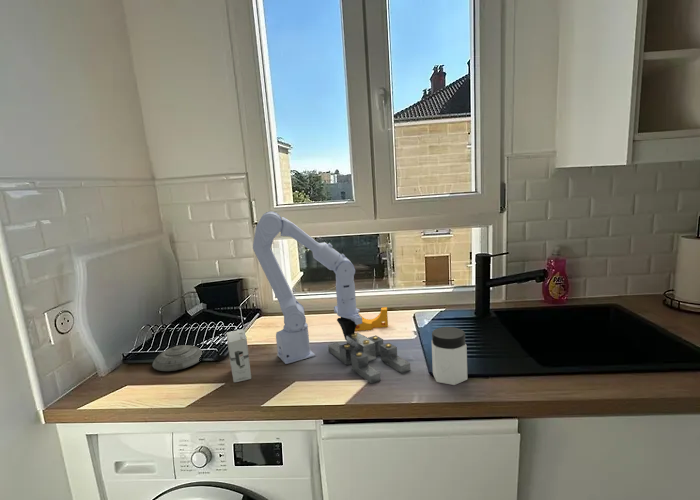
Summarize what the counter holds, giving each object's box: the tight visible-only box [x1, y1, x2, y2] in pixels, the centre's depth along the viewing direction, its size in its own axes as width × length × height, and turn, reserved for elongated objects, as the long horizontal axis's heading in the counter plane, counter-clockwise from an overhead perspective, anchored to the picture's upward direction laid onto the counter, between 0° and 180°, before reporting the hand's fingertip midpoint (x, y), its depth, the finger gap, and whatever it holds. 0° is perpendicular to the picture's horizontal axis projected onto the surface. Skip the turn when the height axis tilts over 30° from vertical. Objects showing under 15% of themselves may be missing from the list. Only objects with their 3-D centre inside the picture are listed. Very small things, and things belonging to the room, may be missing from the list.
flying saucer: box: [151, 344, 203, 372], centre depth 127 cm, size 15×15×6 cm
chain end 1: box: [327, 334, 384, 366], centre depth 125 cm, size 12×12×5 cm
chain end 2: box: [351, 342, 411, 384], centre depth 113 cm, size 12×10×5 cm
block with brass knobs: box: [346, 332, 377, 362], centre depth 123 cm, size 4×10×6 cm, turn 29°
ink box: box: [226, 328, 252, 383], centre depth 116 cm, size 9×5×12 cm, turn 21°
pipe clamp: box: [355, 306, 389, 332], centre depth 145 cm, size 12×4×6 cm, turn 89°
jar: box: [431, 326, 468, 386], centre depth 106 cm, size 9×8×12 cm
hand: (349, 340), depth 129 cm, fingers closed
